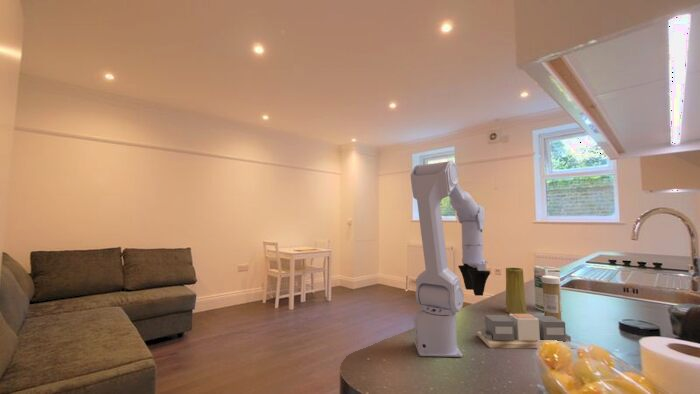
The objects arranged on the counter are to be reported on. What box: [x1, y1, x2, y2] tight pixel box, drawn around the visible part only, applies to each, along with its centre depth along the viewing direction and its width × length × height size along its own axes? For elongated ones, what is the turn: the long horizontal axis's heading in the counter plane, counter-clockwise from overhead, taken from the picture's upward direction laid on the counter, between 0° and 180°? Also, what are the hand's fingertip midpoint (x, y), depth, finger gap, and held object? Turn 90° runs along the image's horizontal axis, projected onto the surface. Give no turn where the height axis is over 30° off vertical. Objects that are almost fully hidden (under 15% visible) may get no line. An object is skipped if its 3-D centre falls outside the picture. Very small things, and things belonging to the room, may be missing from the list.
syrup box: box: [533, 265, 563, 313], centre depth 105 cm, size 6×6×14 cm
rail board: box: [477, 314, 574, 349], centre depth 77 cm, size 20×8×6 cm, turn 87°
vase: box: [505, 267, 528, 314], centre depth 103 cm, size 6×6×14 cm
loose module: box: [508, 313, 540, 341], centre depth 78 cm, size 5×4×5 cm
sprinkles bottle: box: [542, 276, 562, 320], centre depth 93 cm, size 5×5×14 cm
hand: (474, 292), depth 90 cm, fingers open, 7 cm apart
